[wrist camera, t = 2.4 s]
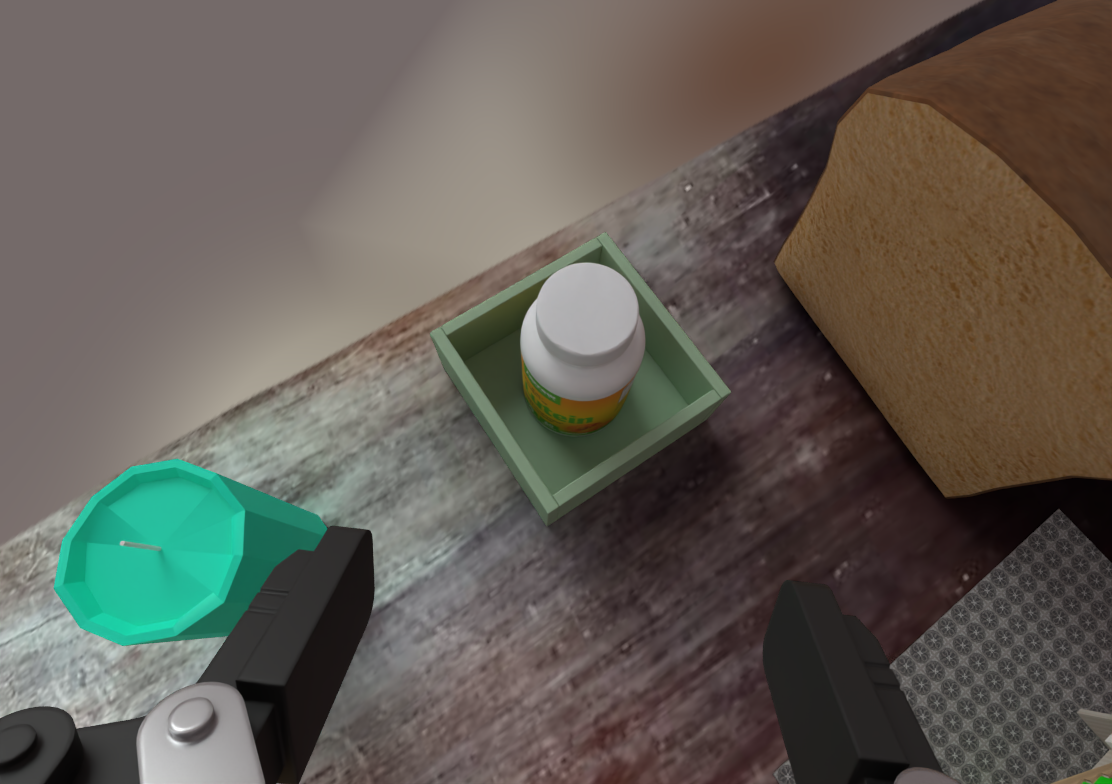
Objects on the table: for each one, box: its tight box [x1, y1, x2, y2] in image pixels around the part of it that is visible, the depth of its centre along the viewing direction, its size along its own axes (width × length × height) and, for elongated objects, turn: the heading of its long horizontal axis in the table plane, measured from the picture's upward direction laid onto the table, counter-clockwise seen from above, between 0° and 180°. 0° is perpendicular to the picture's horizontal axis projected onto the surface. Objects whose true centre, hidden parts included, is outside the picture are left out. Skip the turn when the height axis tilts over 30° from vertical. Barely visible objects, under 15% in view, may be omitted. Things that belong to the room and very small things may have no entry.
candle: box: [54, 459, 328, 646], centre depth 25 cm, size 6×6×12 cm
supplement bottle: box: [520, 263, 645, 437], centre depth 29 cm, size 5×5×10 cm
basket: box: [430, 232, 731, 526], centre depth 32 cm, size 10×10×4 cm
